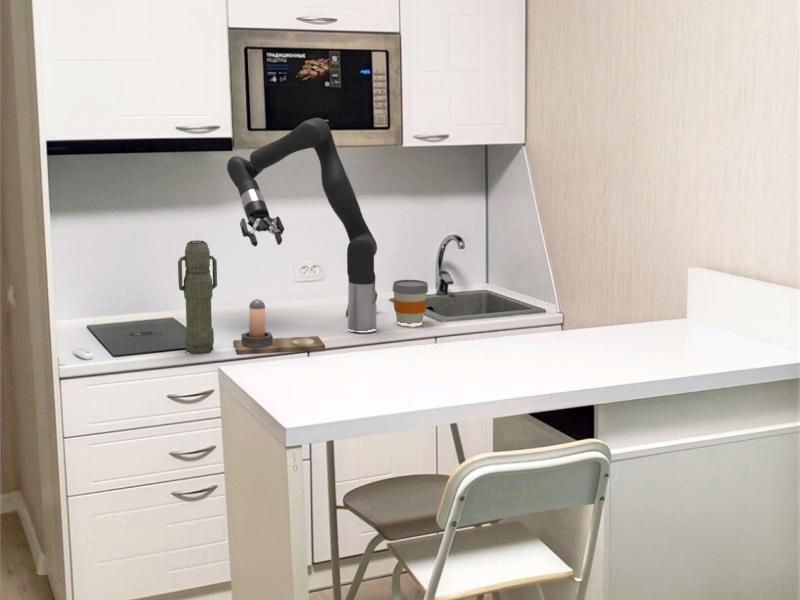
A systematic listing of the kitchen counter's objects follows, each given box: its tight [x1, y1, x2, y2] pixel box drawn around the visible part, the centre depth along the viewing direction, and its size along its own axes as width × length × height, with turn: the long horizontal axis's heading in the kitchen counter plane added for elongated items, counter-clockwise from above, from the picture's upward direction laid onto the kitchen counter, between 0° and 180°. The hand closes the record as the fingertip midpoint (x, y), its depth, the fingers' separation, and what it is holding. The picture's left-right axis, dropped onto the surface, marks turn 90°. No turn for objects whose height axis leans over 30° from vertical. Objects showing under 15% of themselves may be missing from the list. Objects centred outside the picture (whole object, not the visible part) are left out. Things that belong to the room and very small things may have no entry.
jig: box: [232, 331, 326, 355], centre depth 323 cm, size 28×12×4 cm, turn 105°
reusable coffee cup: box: [392, 279, 429, 324], centre depth 355 cm, size 13×12×15 cm
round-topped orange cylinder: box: [248, 299, 266, 338], centre depth 320 cm, size 5×5×14 cm
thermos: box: [177, 239, 218, 355], centre depth 314 cm, size 9×12×35 cm
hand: (268, 244), depth 334 cm, fingers open, 8 cm apart
